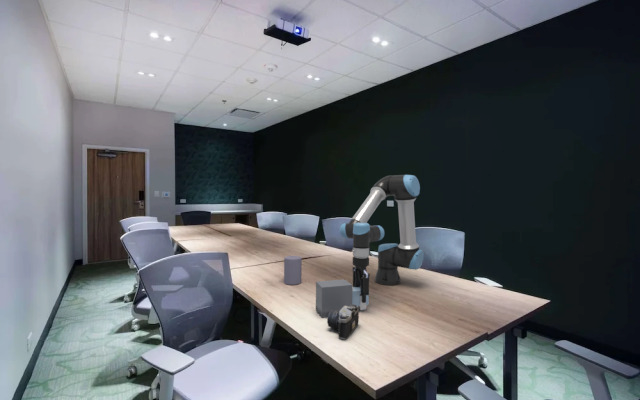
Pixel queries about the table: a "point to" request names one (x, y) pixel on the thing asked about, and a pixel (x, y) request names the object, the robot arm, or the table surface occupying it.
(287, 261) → the container
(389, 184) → the robot arm
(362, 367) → the table surface
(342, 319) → the camera
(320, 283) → the dispenser
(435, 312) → the table surface
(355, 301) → the tall blue-grey block
